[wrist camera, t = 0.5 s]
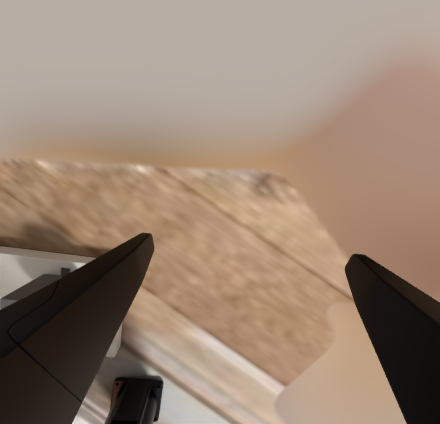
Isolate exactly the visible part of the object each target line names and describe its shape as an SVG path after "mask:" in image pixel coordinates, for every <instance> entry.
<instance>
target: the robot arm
mask: <svg viewBox="0 0 440 424" xmlns="http://www.w3.org/2000/svg"><path fill="white" fill-rule="evenodd" d="M153 252H154V243H153V238H152V235H151V234H150V233H141V234H139V235H137V236H135V237H134V238H132V239H130V240H128V241H126V242H125V243H123V244H121V245H119V246H117V247H116V248H114V249H112V250H110V251H108V252H107V253H105V254H103V255H101V256H99V257H98V258H96V259H94V260H92V261H90V262H89V263H87V264H85V265H83V266H81V267H79V268H78V269H76V270H74V271H72V272H70V273H69V274H67V275H65V276H63V277H61V279H58V280H56V281H54V282H52V283H51V284H49V285H47V286H45V287H43V288H41V289H40V290H38V291H36V292H34V293H32V294H30V295H28V296H26V297H24V298H22V299H20V300H18V301H16V302H14V303H12V304H10V305H8V306H6V307H4V308H2V309H0V424H72V422H73V420H74V418H75V416H76V414H77V412H78V410H79V408H80V406H81V404H82V401H83V400H84V398H85V396H86V394H87V392H88V390H89V388H90V386H91V384H92V382H93V380H94V378H95V376H96V374H97V372H98V370H99V368H100V366H101V364H102V362H103V360H104V358H105V356H106V354H107V352H108V350H109V348H110V346H111V344H112V342H113V340H114V338H115V336H116V334H117V332H118V330H119V328H120V326H121V324H122V322H123V320H124V318H125V316H126V314H127V312H128V310H129V308H130V306H131V304H132V302H133V300H134V298H135V296H136V294H137V292H138V290H139V288H140V286H141V284H142V281H143V279H144V277H145V274H146V271H147V269H148V266H149V263H150V260H151V258H152V255H153ZM345 273H346V277H347V280H348V283H349V286H350V289H351V292H352V296H353V299H354V302H355V305H356V307H357V310H358V312H359V315H360V317H361V319H362V321H363V324H364V326H365V328H366V331H367V333H368V335H369V338H370V340H371V342H372V344H373V347H374V349H375V352H376V354H377V356H378V358H379V361H380V363H381V365H382V368H383V370H384V372H385V375H386V377H387V379H388V381H389V384H390V386H391V388H392V391H393V393H394V395H395V398H396V400H397V402H398V405H399V407H400V409H401V411H402V414H403V416H404V419H405V421H406V423H407V424H440V302H438V301H436V300H435V299H433V298H432V297H430V296H429V295H427V294H425V293H424V292H422V291H420V290H419V289H417V288H416V287H414V286H413V285H411V284H410V283H408V282H407V281H405V280H403V279H401V278H400V277H399V276H397V275H395V274H394V273H392V272H391V271H389V270H388V269H386V268H385V267H383V266H381V265H380V264H378V263H377V262H375V261H374V260H372V259H370V258H369V257H367V256H366V255H363V254H353V255H352V256H351V257H350V259H349V261H348V263H347V265H346V266H345ZM162 390H163V382H162V381H159V380H144V379H130V378H116V379H115V381H114V383H113V394H112V406H111V410H110V412H109V414H108V417H107V419H106V421H105V424H153V422H156V421H157V420H158V418H159V412H160V404H161V397H162Z"/></svg>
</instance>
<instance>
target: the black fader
mask: <svg viewBox="0 0 440 424" xmlns="http://www.w3.org/2000/svg"><path fill="white" fill-rule="evenodd" d="M61 277H63V276H61V275H52V274H43V275H41V276H39V277H38V278H36V279H34V280H32V281H31V282H29V283H27V284H25V285H23V286H22V287H20V288H18V289H16V290H15V291H13V292H11V293H9V294H8V295H6V296H4V297H2V298H1V299H0V309H2V308H4V307H6V306H8V305H10V304H12V303H14V302H16V301H18V300H20V299H22V298H24V297H26V296H28V295H30V294H32V293H34V292H36V291H38V290H40V289H41V288H43V287H45V286H47V285H49V284H51V283H52V282H54V281H56V280H58V279H61Z"/></svg>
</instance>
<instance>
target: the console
mask: <svg viewBox="0 0 440 424" xmlns="http://www.w3.org/2000/svg"><path fill="white" fill-rule="evenodd" d="M94 259H96V258H93V257H85V256H77V255H69V254H61V253H53V252H45V251H36V250H28V249H20V248H12V247H4V246H0V299H1V298H2V297H4V296H6V295H8V294H9V293H11V292H13V291H15V290H16V289H18V288H20V287H22V286H23V285H25V284H27V283H29V282H31V281H32V280H34V279H36V278H38V277H39V276H41V275H43V274H52V275H61V276H65V275H67V274H69V273H70V272H72V271H74V270H76V269H78V268H79V267H81V266H83V265H85V264H87V263H89V262H90V261H92V260H94ZM122 323H123V322H122ZM121 334H122V324H121V326H120V328H119V330H118V332H117V334H116V336H115V338H114V340H113V342H112V344H111V346H110V348H109V350H108V352H107V354H106V356H105V357H115V355H116V354H117V352H118V350H119V348H120V345H121Z"/></svg>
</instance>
